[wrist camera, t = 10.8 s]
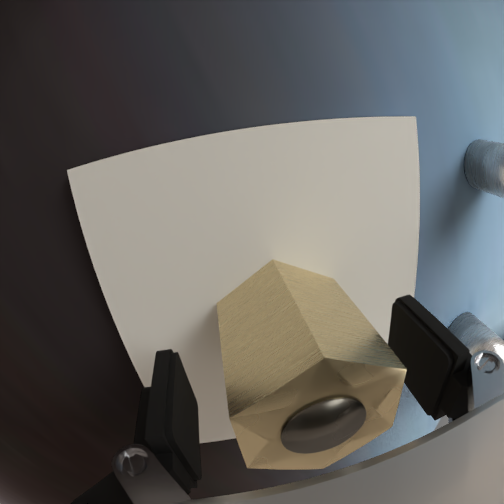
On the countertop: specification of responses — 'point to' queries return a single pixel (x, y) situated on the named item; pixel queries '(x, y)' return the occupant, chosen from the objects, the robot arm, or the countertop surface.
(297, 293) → the faceted candle holder
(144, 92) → the countertop surface
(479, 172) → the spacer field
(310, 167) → the mat
